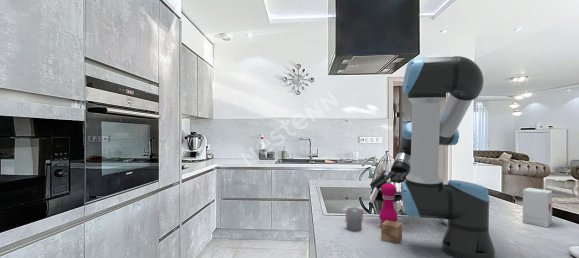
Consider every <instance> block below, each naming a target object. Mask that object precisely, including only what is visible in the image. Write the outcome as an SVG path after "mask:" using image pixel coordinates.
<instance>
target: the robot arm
mask: <svg viewBox="0 0 579 258" xmlns="http://www.w3.org/2000/svg"><path fill="white" fill-rule="evenodd" d="M483 88H484V76H483V72H482V70H481V69H480V67H479V65H478V64H477V63H475V61H473V60H472V59H470V58H468V57H464V56H459V55H458V56H456V55H455V56H429V57H427V56H426V57H419V58H412V59H410V60H409V61H408V63H407V65H406V68H405V73H404V77H403V83H402V92H403V94H405V95H407V100H408V102H410V103H411V105H412V106H411V111H412V112H411V122H408V123H405V125H404V127H403V129H402V132H401V140H400V146H399V148H398V151H397V154H396V156H395V157H394V160H393V163H392V165H391V168H390V171H388V172H387V171H386V170H383V171H382V172H381V173H380V174H379V175H378V176H377V177H376V178H375V179H374V180H372V182H369V183H370V184H369V186H370V187H371V192H370V197H369V200H370V203H371V204H374V202H375V200H376V198H377V196H378V193H379V190H381V187H382V185H383V184H386V183H387V180H390V181H391V183H392V184H393V183H395V184H396V183H397V184H400V195H401V204H400V206H401V209H402V210H404V212H405V214H406V216H408V217H414V218H419V219H421V218H423V219H436V220H447V227H446V230H445V233H444V235H443V237H442V241H441V249H442V251H444V252H445V253H446V254H448V255H450V256H451V257H455V258H496V249H495V246H494V244H493V243H494V242H493V241H492V238H491V236H490V229H489V228H490V227H489V226H490V222H489V221H490V218H489V217H490V197H489V196H490V195H489V190H488V189H487V187H485V186H484V185H481V184H477V183H472V182H468V181H462V180H457V179H449V180H448V182H447V183H446V184H445V183H444V180H443V178H442V177H441V176H440V175H439V162H440V161H439V159H440V158H439V157H440V156H439V155H440V153H439V152H440V146H455V145H457V144H458V142H459V140H460V139H459V138H460V133H459V130H458V129H459V126H460V124H461V122H462V120H463V118H464V116H465V115H466V113H467V111H468V109H469V108H470V106H471V103H472V102H473V100H475V99H478V97H479V96H480V94H481V92H482V90H483ZM447 94H448V96H447ZM444 101H445V104H444V106H443V109H442V111H441V104H442V103H443V102H444Z"/></svg>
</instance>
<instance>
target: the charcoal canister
mask: <svg viewBox="0 0 579 258" xmlns="http://www.w3.org/2000/svg"><path fill="white" fill-rule="evenodd" d="M361 209H362V208H360V209H359V207H356V208H355V207H347V208H346V210H347V222H346V230H347V231H350V232H355V233H356V232H361V231H362V227H363V225H362V224H363V222H362V221H363V220H362V210H361Z"/></svg>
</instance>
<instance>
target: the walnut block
mask: <svg viewBox="0 0 579 258" xmlns="http://www.w3.org/2000/svg"><path fill="white" fill-rule="evenodd" d="M380 229H381V230H380V231H381V232H380V233H381V235H380V238H381V239H380V240H381V241H383V242H387V243H393V244H396V245H397V244H400V242H401V241H402V240H403V222H399V221H396V222H394V221H388V220H386V221H384V222H383V223H382V224H381V227H380Z"/></svg>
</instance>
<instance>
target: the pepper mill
mask: <svg viewBox="0 0 579 258" xmlns="http://www.w3.org/2000/svg"><path fill="white" fill-rule="evenodd" d="M380 191H381V193H382V195H381V196H382V199H383V204H382V206H381V210H380V212H379V215H378V216H379V219H380V228H381V224H382V223H383V222H384V221H386V220H388V221H394V222H398V213H397V211H396V208H395V205H394V201H395V199H396V198H395V197H396V196H395V195H396V193H397V188H396V185H394V184H393V183H392V182H391V181H390V179H389V180H387V183H386V184H383V185H382V187H381V188H380Z"/></svg>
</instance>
